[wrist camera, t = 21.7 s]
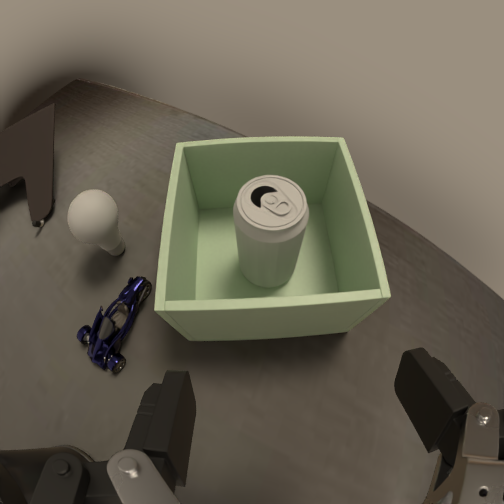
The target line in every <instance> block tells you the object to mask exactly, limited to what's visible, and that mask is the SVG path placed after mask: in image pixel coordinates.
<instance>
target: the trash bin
mask: <svg viewBox="0 0 504 504" xmlns="http://www.w3.org/2000/svg"><path fill="white" fill-rule="evenodd" d="M263 175H278V176H282V177H285V178H288V179H290V180H292V181H293V182H295V183H296V184H297V185H298V186H299V187H300V188H301V189H302V190H303V192H304V194H305V197H306V201H307V204H308V208H309V218H308V222H307V226H306V230H305V234H304V238H303V241H302V245H301V249H300V252H299V256H298V260H297V263H296V267H295V270H294V272H293V274H292V276H291V277H290V278H289V279H288V280H287V281H286V282H285V283H283V284H281V285H279V286H276V287H270V288H266V287H260V286H257V285H255V284H253V283H251V282H250V281H248V280H247V279H246V278H245V276H244V275H243V274H242V271H241V269H240V265H239V257H238V249H237V241H236V233H235V224H234V216H233V207H234V203H235V200H236V198H237V196H238V193H239V191H240V189H241V188H242V187H243V186H244V185H245V184H246V183H247V182H248V181H250V180H252V179H254V178H256V177H259V176H263ZM390 297H391V294H390V289H389V285H388V280H387V276H386V272H385V267H384V263H383V259H382V255H381V251H380V247H379V244H378V240H377V236H376V233H375V229H374V226H373V222H372V219H371V215H370V212H369V209H368V206H367V202H366V199H365V196H364V193H363V190H362V187H361V184H360V181H359V178H358V175H357V173H356V170H355V167H354V164H353V161H352V159H351V156H350V153H349V151H348V148H347V145H346V143H345V140H344V138H336V137H296V136H294V137H293V136H292V137H248V138H230V139H215V140H203V141H192V142H182V143H177V144H176V149H175V154H174V159H173V165H172V170H171V176H170V182H169V188H168V194H167V200H166V207H165V214H164V221H163V228H162V236H161V244H160V253H159V262H158V272H157V282H156V294H155V308H154V311H155V312H156V313H157V314H159V315H160V316H161V317H162V318H163V319H164V320H165V321H166V322H168V323H169V324H170V325H171V326H172V327H173V328H175V329H176V330H177V331H178V332H179V333H180V334H182V335H183V336H184V337H185V338H186V339H188V340H189V341H228V340H255V339H273V338H288V337H301V336H312V335H323V334H333V333H342V332H348V331H350V330H351V329H352V328H354V327H355V326H356V325H357V324H359V323H360V322H361V321H362V320H364V319H365V318H366V317H367V316H369V315H370V314H371V313H372V312H374V311H375V310H376V309H377V308H379V307H380V306H381V305H382V304H383V303H385V302H386V301H387V300H388V299H389V298H390Z"/></svg>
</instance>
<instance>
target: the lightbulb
mask: <svg viewBox="0 0 504 504" xmlns="http://www.w3.org/2000/svg"><path fill="white" fill-rule="evenodd" d="M68 225H69V228H70V230H71V232H72V234H73V235H74V236H75V237H76V238H77V239H78V240H80V241H81V242H84V243H87V244H96V245H99V246H100V247H101V248H102V249H104V250H106V251H107V252H108V253H110V254H111V255H113V256H118V255H120V254H121V253H122V252H123V251H124V249H125V242H124V240H123V239H122V237H121V233H120V231H119V229H118V209H117V205H116V203H115V201H114V200H113V198H112V197H111V196H110V195H108V194H107V193H105V192H103V191H101V190H87V191H84V192H82V193H80V194H79V195H78V196H77V197H76V198H75V199H74V200H73V201H72V203H71V205H70V207H69V210H68Z"/></svg>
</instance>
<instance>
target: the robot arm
mask: <svg viewBox="0 0 504 504" xmlns="http://www.w3.org/2000/svg"><path fill="white" fill-rule="evenodd" d="M394 387H395V393H396V395H397V397H398V399H399V400H400V402H401V404H402V406H403V407H404V409H405V411H406V413H407V415H408V416H409V418H410V420H411V422H412V424H413V425H414V427H415V429H416V431H417V433H418V435H419V436H420V438H421V440H422V442H423V444H424V446H425V448H426V450H427V451H428V453H430V452H433V451H435V450H437V449H439V450H440V452H441V453H440V455H439V457H438V460H437V464H436V467H435V471H434V475H433V478H432V482H431V485H430V488H429V491H428V494H427V496H426V498H425V500H424V502H423V503H422V504H502V500H503V501H504V409H502V410H496V409H495V408H494V407H493V406H492V405H490V404H487V403H482V402H481V403H476V402H475V401H474V400H473V399H472V397H471V396H470V395H469V393H468V392H467V391H466V390H465V388H464V387H463V386H462V385H461V383H460V382H459V381H458V380H456V377H455V376H454V375H453V374H452V373H451V371H450V370H449V369H448V368H447V366H446V365H445V364H444V363H443V362H441V361H439V360H438V359H436V358H435V357H431V356H430V355H429V354H428V352H427V351H426V350H425V349H424V348H417V349H412V350H408V351H405V352H404V353H403V355H402V358H401V362H400V365H399V368H398V372H397V375H396V378H395V383H394ZM140 404H141V405H140V406H139V408H138V411H137V414H136V417H135V420H134V422H133V425H132V428H131V431H130V434H129V437H128V440H127V442H126V445H125V448H124V449H123V450H122V451H119V452H117V453H115V454H114V455H113V456H112V457H111V458H110V459H109V460H108V461H101V462H94V461H93V459H92V458H91V457H89V456H88V455H87V454H86V453H85V452H83V451H82V450H80V449H78V448H76V447H73V446H69V445H61V446H55V447H50V448H39V449H26V450H0V504H181V503H180V502H179V501H178V499H177V498H176V497H175V495H174V492H175V486H183V487H185V484H186V477H187V470H188V463H189V456H190V449H191V442H192V436H193V429H194V423H195V417H196V401H195V397H194V392H193V388H192V384H191V379H190V375H189V372H188V371H176V370H167V371H166V373H165V376H164V379H163V382H162V384H156V383H153V384H152V385H151V386H150V387H149V388H148V389H147V390H146V391H145V392H144V395H143V398H142V400H141V403H140Z"/></svg>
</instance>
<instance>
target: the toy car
mask: <svg viewBox="0 0 504 504" xmlns="http://www.w3.org/2000/svg"><path fill="white" fill-rule="evenodd" d="M151 288H152V284H151V283H150V282H149V281H148V280H147V279H146V278H145V277H138V276H137V277H136V278H135V279H134V280H133V278H131V277H130V279H129V280H128V285H127V286H126V287H125V288H124V289H123V290H122V292H121V293H120V295H119V297H118V299H116V300H115V301H114V302H113V303H112V304H111V305H110V306H109V307H108V308H107V310H106V312H105V313H104V315H102V313H101V311H103V307H102V306H101V307H100V310H99V312H98V314H97V316H96V318H95V321H94V323H93V326H92V328H91V327H90V326H89V325H85V326H83V327H82V328H81V329H80V330H79V331H78V333H77V338H78V340H79V341H80V342H81V343H82V344H84V345H87V344H88V348H89V349H88V352H87V354H88V355H89V356H90V358H91V361H92V362H94V363H97V364H98V365H99V366H100V367H101V368H102V369H103V370H105V369H106V368H107V367H108V368H109V370H111V371H112V372H113V373H118V372H119V371H120V370H121V369H122V368H123V367H124V365H125V363H126V359H125V358H124V357H123V356H122V355H121V354H120V353H117V352H118V350H119V348H120V345H121V341H122V339H123V338H124V337H125V336H126V334H127V333H128V331H129V330H130V328H131V326H132V323H133V321H134V317H135V314H136V313H137V311H138V309H139V303H140V302H142V301H143V300H145V299H146V298H147V296H148V295H149V293H150V291H151ZM137 301H139V303H138V304H137ZM116 304H118V306H117V307H116V308H115V309H114V310H113V311H112V312H111V313H110V311H111V310H112V308H113V306H115V305H116ZM117 310H118V311H120V312H118V313H116V314H115V315H114V313H115V312H116V311H117ZM109 313H110V314H109ZM108 315H109V316H108ZM113 315H114V316H113ZM112 316H113V317H112ZM111 317H112V319H111ZM110 319H111V320H110Z"/></svg>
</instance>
